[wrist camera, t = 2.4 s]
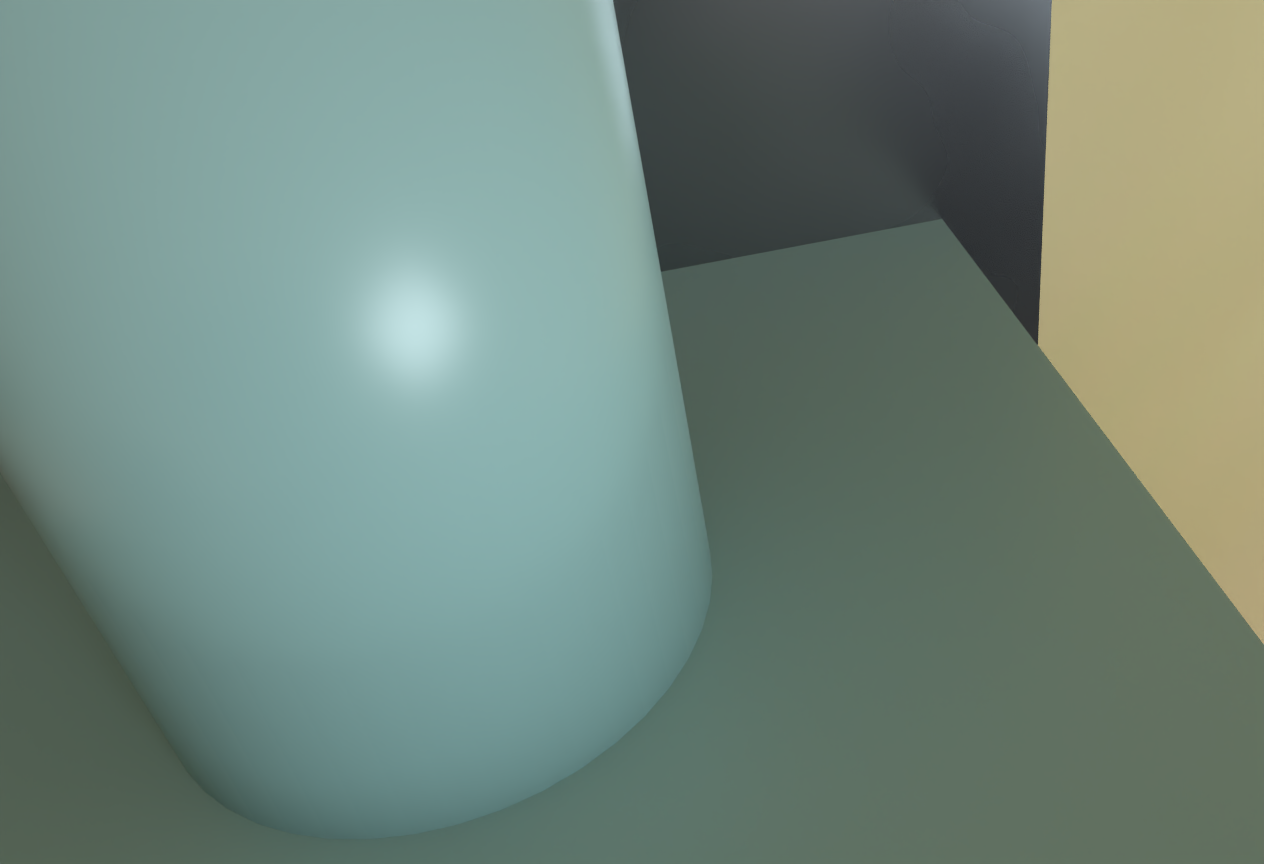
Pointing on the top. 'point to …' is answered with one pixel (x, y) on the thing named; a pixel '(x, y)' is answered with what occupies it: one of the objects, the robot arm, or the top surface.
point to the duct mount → (843, 126)
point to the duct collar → (540, 490)
